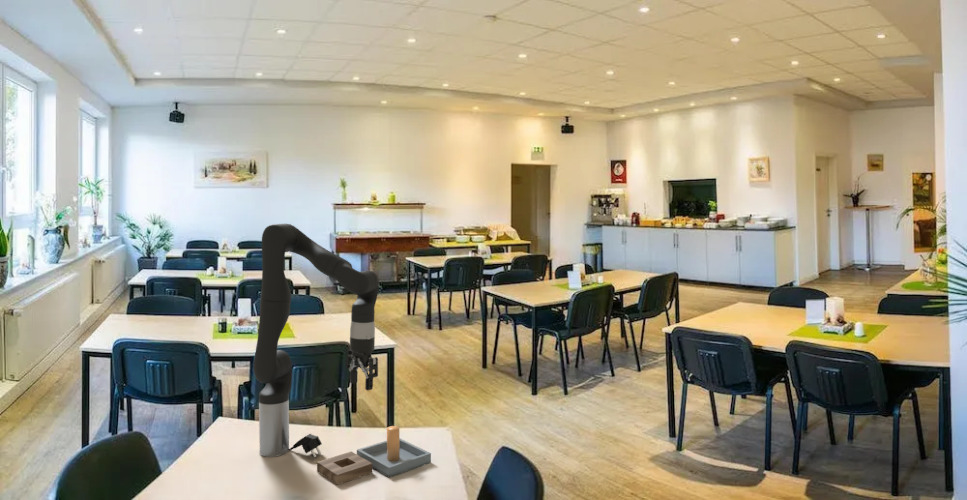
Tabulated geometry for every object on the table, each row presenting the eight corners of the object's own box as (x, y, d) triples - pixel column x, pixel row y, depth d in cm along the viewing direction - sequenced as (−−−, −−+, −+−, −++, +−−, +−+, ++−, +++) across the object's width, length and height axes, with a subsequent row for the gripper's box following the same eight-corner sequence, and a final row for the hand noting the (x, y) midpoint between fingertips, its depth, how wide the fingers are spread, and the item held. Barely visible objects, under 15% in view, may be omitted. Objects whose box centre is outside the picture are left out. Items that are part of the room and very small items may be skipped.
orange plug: (384, 458, 194) (384, 428, 194) (394, 454, 197) (394, 425, 196) (391, 462, 191) (391, 431, 191) (402, 458, 194) (401, 428, 193)
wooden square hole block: (317, 471, 186) (317, 461, 185) (351, 460, 194) (351, 451, 194) (337, 484, 177) (337, 474, 177) (372, 472, 185) (372, 463, 185)
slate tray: (356, 458, 195) (356, 449, 195) (397, 445, 206) (397, 437, 206) (389, 477, 182) (389, 467, 182) (430, 462, 193) (430, 453, 193)
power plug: (294, 444, 204) (318, 428, 200) (305, 464, 203) (329, 449, 199) (282, 450, 199) (307, 434, 195) (293, 471, 198) (318, 455, 193)
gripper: (339, 332, 191) (338, 383, 192) (365, 341, 181) (363, 394, 182) (360, 329, 196) (358, 378, 197) (385, 338, 186) (384, 389, 187)
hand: (361, 386), depth 190 cm, fingers open, 8 cm apart
